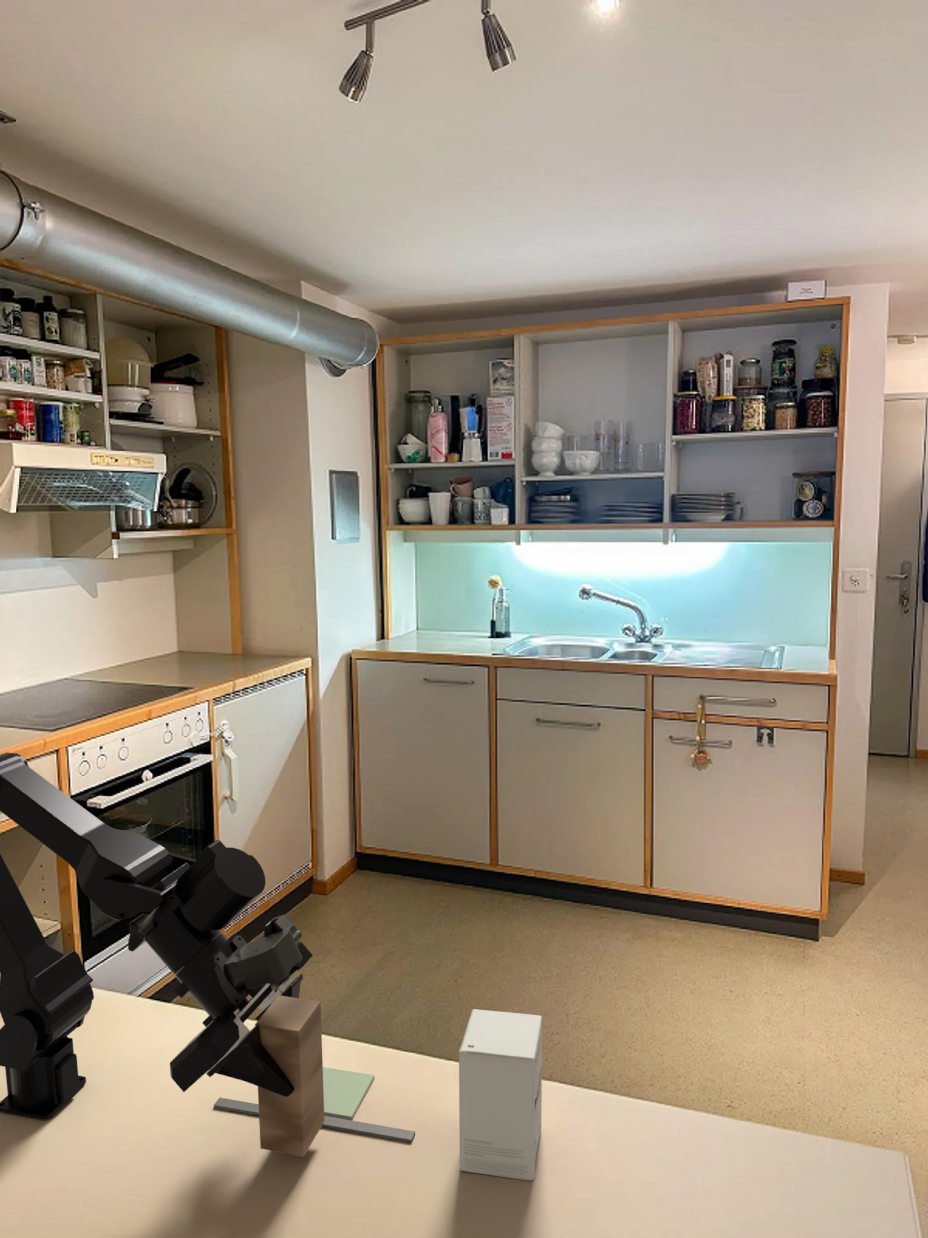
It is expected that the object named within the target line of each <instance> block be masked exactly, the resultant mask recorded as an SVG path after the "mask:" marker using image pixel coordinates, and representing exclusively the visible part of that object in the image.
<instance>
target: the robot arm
mask: <svg viewBox="0 0 928 1238" xmlns="http://www.w3.org/2000/svg"><path fill="white" fill-rule="evenodd" d="M0 812H1V813H2V814H3V815H4V816H5V817H7V818H9V819H10V820H11V821H13V823H15V824H16V825H18V826H19V827H20V828H21V829H23V830H24V831H26V832H27V833H28V834H30V836H31V837H33V838H35V839H36V840H37V841H38V842H40V843H41V844H43V845H44V847H46V848H48V849H49V850H50V851H52V852H53V853H54V854H56V855H57V857H59V858H61V859H62V860H63V861H65V863H67V864H68V865H69V866H70V868H72V869H73V870H74V871H75V875H76V877H77V880H78V883H79V887H80V890H81V891H82V893H84V894H85V896H86V897H88V898H89V900H90V901H91V902H92V903H93V904H94V905H95V906H96V907H97V908H98V910H100V911H101V912H102V913H103V914H104V915H105V916H107V917H108V918H110V919H112V920H114V921H115V920H116V921H121V920H127V919H132V918H133V917H135V916H137V915H138V914H140V913H142V914H140V915H139V916H137V917H136V918H135V919H133V920H132V921H130V922H129V938H128V940H127V941H128V945H127V949H128V951H129V952H134V951H136V950H137V949H139V948H140V947H141V946H142V945H143V944H145V943H147V945H148V946H149V947H150V948H151V950H152V952H154V953H155V954H156V955H157V957H158V958H159V959H160V960H161V961H162V962H163V964H164V965H165V966H166V967H167V968H168V969H169V970H170V972H171V973H172V974H173V975H174V976H175V978H176V979H177V980H178V981H179V982H180V984H179V985H178V986H177V988H175V989H174V992H176V994H177V995H178V996H179V998H180V999H182V998H184V996H185V995H187V993H188V992H189V994H190V995H191V996H192V997H193V998H194V1000H195V1001H196V1002H197V1004H199V1005H200V1007H201V1008H202V1009H203V1010H204V1011H205V1013H207V1015H208V1016H207V1017H206V1018H205V1019H204V1020H203V1021H202V1025H204V1027H205V1028H203V1029H202V1030H201V1031H200V1032H199V1033H198V1034H196V1036H195V1037H193V1038H192V1039H191V1040H190V1041H189V1042H188V1043H187V1044H186V1045H185V1047H183V1049H182V1050H180V1052H179V1053H178V1054H177V1055H176V1056H175V1057H173V1059H172V1060H171V1061H169V1072H170V1078H171V1079H172V1080H173V1082H174V1083H175V1084H176V1085H177V1086H178V1087H179V1089H180V1090H181V1091H182V1092H183V1093H185V1092H186V1091H188V1090H189V1088H190V1087H192V1086H193V1085H194V1084H195V1083H197V1081H198V1080H200V1079H201V1078H202V1077H203V1076H204V1075H205V1074H206V1075H207V1077H209V1078H211V1077H213V1076H214V1075H215V1074H217V1075H220V1076H224V1077H229V1078H231V1079H236V1080H239V1081H242V1082H245V1083H248V1084H252V1085H253V1086H257V1087H258V1086H259V1087H261V1088H264V1089H266V1090H269V1091H272V1092H274V1093H277V1094H279V1095H282V1096H285V1097H288V1096H289V1095H290V1094H291V1093H293V1091H294V1087H293V1085H292V1084H291V1082H290V1081H289V1079H288V1078H287V1076H286V1075H285V1073H284V1072H283V1071H282V1070H281V1068H280V1067H279V1066H278V1065H277V1063H276V1062H275V1061H274V1059H273V1058H272V1057H271V1056H270V1054H269V1053H268V1052H267V1050H266V1049H265V1048H264V1047H263V1045H262V1043H261V1036H260V1026H259V1024H257V1025H256V1026H255V1025H254V1026H253V1027H252V1029H249V1028H248V1027H247V1026H246V1025H245V1022H246V1021H247V1020H248V1018H250V1016H251V1015H252V1014H253V1013H254V1012H255V1011H256V1009H257V1008H259V1010H261V1011H260V1012H259V1013H258V1014H257V1016H255V1020H256V1022H257V1021H258V1020H259V1019H260V1018H261V1016H262V1015H263V1014H264V1013H265V1012H266V1010H267V1009H268V1008H269V1007H270V1005H271V1004H272V1003H273V1002H274V1000H275V999H276V998H277V997H278V996H286V997H293V998H300V994H301V993H300V991H301V984H302V981H303V980H304V975H303V973H300V974H299V975H297V977H296V978H295V979H293V978H292V977H291V976H292V975H293V974H294V973H295V972H297V971H300V970H301V969H302V968H303V967H304V966H305V965H306V964H307V963H308V962H309V960H310V959H311V958H312V957H313V956H314V955H313V954H312V952H311V951H310V950H309V949H308V948H307V947H306V946H305V945H304V943H303V941H302V942H301V941H300V940H301V939H302V937H303V936H302V932H301V931H300V930H298V929H297V926H296V925H295V924H294V923H293V922H291V920H290V919H289V918H288V917H286V916H285V915H284V914H282V915H279V916H276V917H273V918H272V919H271V920H269V922H268V923H266V924H265V925H264V927H263V932H264V933H263V935H260V936H259V937H258V938H257V939H256V940H253V941H251V942H247V941H246V940H245V939H244V938H243V937H242V936H241V935H237V933H234V934H233V935H232V936H230V938H229V939H228V938H227V936H225V934H224V933H223V932H222V931H221V930H223V929H225V928H227V927H228V926H229V925H230V923H232V922H233V921H234V920H235V919H236V918H237V917H238V916H239V915H240V914H241V913H242V912H243V911H244V910H245V909H246V908H248V907H249V905H250V904H251V903H252V902H253V901H254V900H256V899H257V898H258V896H260V895H261V894H262V893H263V891H264V890H265V886H266V883H267V882H266V875H265V872H264V870H263V868H262V866H261V864H260V863H259V861H258V860H257V859H256V857H254V855H252V854H248V853H247V852H245V851H243V850H241V849H239V848H235V847H231V846H230V847H227V846H226V845H225V844H224V843H223V842H222V841H221V840H220V839H216V840H214V841H213V842H211V843H210V844H209V845H207V846H206V847H205V848H204V849H203V850H202V851H201V852H200V853H199V855H198V856H197V858H196V859H195V858H191V857H187V856H184V855H180V854H178V853H174V852H169V851H168V850H167V849H166V848H165V847H163V846H162V845H161V844H159V843H157V842H155V841H153V840H151V839H149V838H147V837H146V836H144V835H142V834H139V833H138V832H134V831H128V830H123V829H118V828H114V827H111V826H109V825H108V824H106V823H105V822H103V821H102V820H100V819H99V818H98V817H96V816H95V815H93V813H91V812H90V811H88V810H87V809H86V808H84V807H83V806H82V805H80V804H79V803H77V802H76V801H75V800H74V799H72V798H71V797H69V796H68V795H67V794H65V793H64V792H63V791H62V790H60V789H59V788H57V786H55V785H54V784H52V783H51V782H49V780H47V779H46V778H45V777H44V776H41V774H40V773H39V772H36V771H35V770H34V769H33V768H31V767H30V766H29V763H28V761H27V760H26V759H25V758H24V757H23V755H21V754H19V753H17V752H15V753H14V752H4V753H1V754H0ZM171 897H173V899H170V898H171ZM145 913H150V914H145ZM93 981H94V979H93V978H92V976H90V974H88V971H86V969H85V967H84V965H83V962H82V960H81V957H80V955H79V953H78V952H77V951H75V950H73V949H71V950H70V951H68V952H67V953H63V952H61V951H59V950H58V949H56V948H55V947H52V946H50V945H49V944H48V942H47V941H46V939H45V937H44V934H43V932H42V931H41V929H40V927H39V925H38V923H37V922H36V919H35V918H34V915H33V914H32V911H31V910H30V908H29V906H28V904H27V902H26V900H25V898H24V896H23V894H22V893H21V890H20V889H19V886H18V885H17V883H16V881H15V879H14V876H13V875H12V873H11V871H10V869H9V867H8V865H7V864H6V861H5V859H4V857H3V856H2V854H1V853H0V1015H1V1018H2V1022H3V1023H4V1024H3V1025H2V1027H1V1028H0V1067H4V1070H5V1079H6V1089H7V1095H6V1096H5V1097H4V1098H2V1100H0V1112H1V1113H6V1114H7V1113H8V1114H12V1115H18V1116H23V1117H27V1118H28V1117H29V1118H33V1119H38V1120H42V1121H43V1120H45V1121H46V1120H48V1119H50V1118H52V1116H53V1115H54V1114H55V1113H57V1111H58V1110H60V1108H62V1107H63V1106H64V1105H65V1104H66V1103H67V1102H68V1101H69V1100H70V1099H71V1098H72V1097H73V1096H74V1095H75V1094H76V1093H77V1092H78V1091H79V1090H80V1089H81V1088H82V1087H83V1086H85V1084H86V1083H87V1077H86V1076H83V1075H79V1069H78V1055H77V1054H76V1053H74V1039H73V1037H68V1036H69V1035H70V1034H71V1033H73V1032H74V1031H75V1030H77V1028H80V1027H81V1026H82V1025H83V1024H84V1020H85V1017H86V1016H87V1015H88V1013H89V1011H90V1010H91V1008H92V1003H93V1000H95V999H94V998H95V997H94V996H95V994H94V991H93V987H92V984H91V983H93ZM249 996H250V997H249ZM248 997H249V998H248ZM237 1010H238V1011H237ZM235 1012H236V1013H235Z"/></svg>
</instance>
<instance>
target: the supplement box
mask: <svg viewBox="0 0 928 1238" xmlns="http://www.w3.org/2000/svg"><path fill="white" fill-rule="evenodd" d="M542 1028H543V1017H542V1015H539V1014H529V1013H519V1012H517V1013H516V1012H510V1011H509V1012H508V1011H497V1010H496V1011H495V1010H488V1009H487V1010H486V1009H475V1008H473V1009H471V1013H470V1016H469V1020H468V1022H467V1025H466V1029H465V1032H464V1035H463V1038H462V1041H461V1045H460V1048H459V1051H458V1072H459V1073H458V1084H459V1086H458V1089H459V1092H458V1094H459V1095H458V1096H459V1098H458V1099H459V1101H458V1103H459V1108H458V1109H459V1113H458V1114H459V1170H460V1171H462V1172H468V1173H472V1174H473V1173H475V1174H482V1175H487V1176H495V1177H500V1178H501V1177H502V1178H509V1179H516V1180H522V1181H533V1180H534V1179H535V1169H536V1168H535V1167H536V1159H537V1154H538V1149H539V1148H538V1147H539V1141H540V1136H541V1135H540V1134H541V1132H542V1103H543V1102H542V1100H543V1099H542V1093H543V1091H542V1088H543V1085H542V1084H543V1082H542V1081H543V1074H542V1073H543V1053H542V1052H543V1050H542V1049H543V1047H542V1046H543V1045H542V1044H543V1032H542V1031H543V1029H542Z"/></svg>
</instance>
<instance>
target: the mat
mask: <svg viewBox="0 0 928 1238" xmlns="http://www.w3.org/2000/svg"><path fill="white" fill-rule="evenodd" d="M374 1080H375V1074H370V1073H363V1072H356V1071H352V1070H351V1071H350V1070H344V1069H337V1068H331V1067H327V1066H326V1067H325V1066H323V1092H324V1116H329V1117H335V1118H341V1119H346V1120H352V1121H353V1119H354V1117H355V1115H356V1114H357V1112H358V1110H359V1108H360V1106H361V1104H362V1102H363V1101H364V1098H365V1097H366V1095H367V1093H368V1091H369V1089H370V1088H371V1085H372V1084H373V1082H374Z"/></svg>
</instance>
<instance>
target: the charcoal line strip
mask: <svg viewBox="0 0 928 1238" xmlns="http://www.w3.org/2000/svg"><path fill="white" fill-rule="evenodd" d="M213 1108H215V1109H220V1110H221V1109H222V1110H226V1111H232V1112H237V1113H242V1114H249V1115H255V1116H259V1103H255V1102H254V1103H253V1102H248V1101H241V1100H236V1099H230V1098H226V1097H219V1098H217V1100H216V1101H215V1103H214V1104H213ZM322 1127H323V1128H328V1129H334V1130H339V1131H344V1132H349V1133H356V1134H362V1135H366V1136H367V1135H368V1136H373V1137H379V1138H384V1139H390V1140H396V1141H400V1142H401V1141H402V1142H407V1143H413V1140H414V1137H415V1136H416V1131H414V1130H409V1129H403V1128H397V1127H392V1126H391V1127H390V1126H386V1125H380V1124H375V1123H368V1122H362V1121H356V1120H353V1119H352V1120H348V1119H342V1118H336V1117H331V1116H325V1115H324V1123H323V1124H322V1126H321V1128H322Z"/></svg>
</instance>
